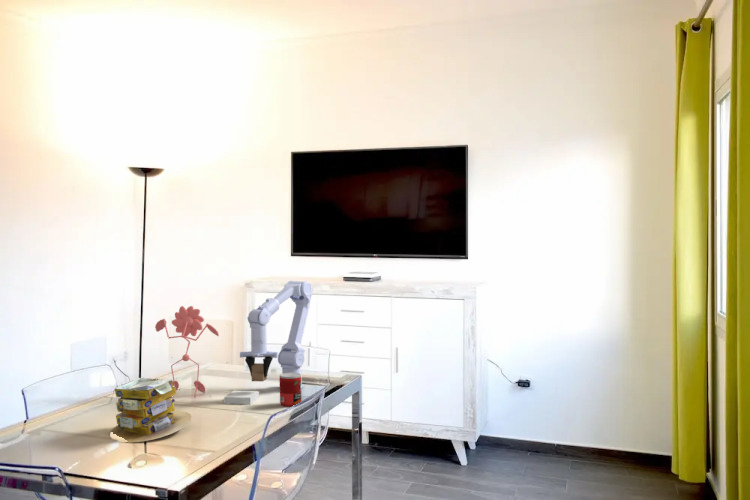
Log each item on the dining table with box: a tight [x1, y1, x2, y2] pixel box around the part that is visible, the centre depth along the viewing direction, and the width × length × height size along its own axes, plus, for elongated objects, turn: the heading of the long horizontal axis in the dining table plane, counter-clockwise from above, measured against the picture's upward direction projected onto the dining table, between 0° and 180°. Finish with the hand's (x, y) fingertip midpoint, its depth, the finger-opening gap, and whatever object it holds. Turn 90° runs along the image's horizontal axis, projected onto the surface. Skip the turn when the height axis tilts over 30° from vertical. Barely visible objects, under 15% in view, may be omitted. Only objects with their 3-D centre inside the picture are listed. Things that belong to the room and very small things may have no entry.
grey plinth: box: [223, 390, 260, 405], centre depth 243 cm, size 10×10×2 cm
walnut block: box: [251, 362, 268, 382], centre depth 245 cm, size 4×4×6 cm
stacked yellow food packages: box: [110, 376, 192, 444], centre depth 205 cm, size 25×25×17 cm
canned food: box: [279, 373, 302, 408], centre depth 236 cm, size 8×8×11 cm
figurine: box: [154, 305, 220, 398], centre depth 256 cm, size 15×26×35 cm, turn 87°
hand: (259, 376), depth 246 cm, fingers closed on walnut block, 4 cm apart
